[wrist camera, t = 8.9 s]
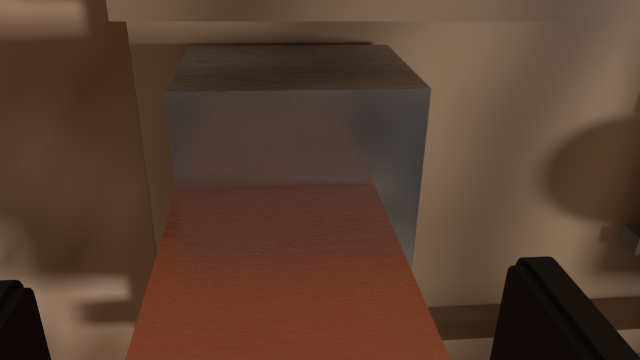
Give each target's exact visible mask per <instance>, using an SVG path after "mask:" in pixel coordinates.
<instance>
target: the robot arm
mask: <svg viewBox="0 0 640 360" xmlns="http://www.w3.org/2000/svg"><path fill="white" fill-rule="evenodd" d="M0 360H51V357H50V354H49V350H48V346H47V342H46V338H45V334H44V330H43V326H42V322H41V318H40V314H39V310H38V306H37V302H36V298H35V295H34V292H33V290H32V289H31V288H24V287H23V284H22V283H21V282H20V281H18V280H0ZM490 360H640V357H639V356H638V355H637V354H636V352H635V351H634V350H633V349H632V348H631V347H630V346H629V344H628V343H627V342H626V341H625V340H624V339H623V337H622V336H621V335H620V334H619V333H618V332H617V330H616V329H615V328H614V327H613V326H612V325H611V324H610V322H609V321H608V320H607V319H606V318H605V317H604V315H603V314H602V313H601V312H600V311H599V310H598V308H597V307H596V306H595V305H594V304H593V303H592V302H591V300H590V299H589V298H588V297H587V296H586V295H585V293H584V292H583V291H582V290H581V289H580V288H579V286H578V285H577V284H576V283H575V282H574V281H573V280H572V278H571V277H570V276H569V275H568V274H567V273H566V271H565V270H564V269H563V268H562V267H561V266H560V265H559V263H558V262H557V261H556V260H555V259H554V258H553V257H550V256H542V257H521V258H519V259H518V261H517V262H516V265H512V266H510V267H509V268H508V271H507V274H506V279H505V284H504V289H503V295H502V300H501V305H500V310H499V315H498V320H497V325H496V330H495V335H494V340H493V345H492V350H491V355H490Z"/></svg>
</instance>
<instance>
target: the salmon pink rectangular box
mask: <svg viewBox="0 0 640 360" xmlns="http://www.w3.org/2000/svg"><path fill="white" fill-rule="evenodd" d="M165 94H166V103H167V113H168V122H169V132H170V141H171V150H172V160H173V169H174V178H175V188H176V190H175V194H174V197H173V200H172V204H171V207H170V211H169V214H168V217H167V221H166V224H165V228H164V231H163V234H162V238H161V241H160V244H159V248H158V251H157V255H156V258H155V261H154V265H153V268H152V272H151V275H150V278H149V282H148V285H147V288H146V292H145V295H144V299H143V302H142V305H141V309H140V312H139V316H138V319H137V322H136V326H135V329H134V332H133V336H132V339H131V343H130V346H129V349H128V353H127V356H126V360H450V358H449V355H448V353H447V351H446V349H445V346H444V344H443V342H442V339H441V337H440V335H439V332H438V330H437V328H436V326H435V323H434V321H433V319H432V316H431V314H430V312H429V309H428V307H427V305H426V302H425V300H424V298H423V296H422V293H421V291H420V289H419V286H418V284H417V282H416V279H415V277H414V275H413V273H412V264H413V255H414V246H415V236H416V227H417V218H418V209H419V199H420V190H421V181H422V171H423V162H424V153H425V144H426V134H427V125H428V116H429V106H430V97H431V88H430V87H429V86H428V85H427V84H426V83H425V82H424V81H423V80H422V79H421V78H420V77H419V76H418V75H417V74H416V73H415V72H414V71H413V70H412V69H411V68H410V67H409V66H408V65H407V64H406V63H405V62H404V61H403V60H402V59H401V58H400V57H399V56H398V55H397V54H396V53H395V52H394V51H393V50H392V49H391V48H390V47H389V46H388V45H189V47H188V49H187V51H186V53H185V55H184V57H183V59H182V60H181V62H180V64H179V66H178V68H177V70H176V72H175V74H174V76H173V78H172V80H171V82H170V84H169V86H168V88H167V90H166V91H165Z"/></svg>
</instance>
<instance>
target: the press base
mask: <svg viewBox="0 0 640 360" xmlns="http://www.w3.org/2000/svg"><path fill="white" fill-rule="evenodd" d="M106 5H107V12H108V19H109V21H126V24H127V32H128V39H129V47H130V55H131V62H132V70H133V78H134V85H135V93H136V101H137V108H138V116H139V123H140V131H141V139H142V146H143V154H144V162H145V169H146V177H147V185H148V192H149V200H150V208H151V215H152V223H153V231H154V238H155V246H156V254H157V251H158V248H159V244H160V241H161V238H162V234H163V231H164V228H165V224H166V221H167V217H168V214H169V211H170V207H171V204H172V200H173V197H174V194H175V190H176V188H175V178H174V169H173V160H172V150H171V141H170V132H169V122H168V113H167V103H166V94H165V91H166V90H167V88H168V86H169V84H170V82H171V80H172V78H173V76H174V74H175V72H176V70H177V68H178V66H179V64H180V62H181V60H182V59H183V57H184V55H185V53H186V51H187V49H188V47H189V45H388V46H389V47H390V48H391V49H392V50H393V51H394V52H395V53H396V54H397V55H398V56H399V57H400V58H401V59H402V60H403V61H404V62H405V63H406V64H407V65H408V66H409V67H410V68H411V69H412V70H413V71H414V72H415V73H416V74H417V75H418V76H419V77H420V78H421V79H422V80H423V81H424V82H425V83H426V84H427V85H428V86H429V87H430V88H431V97H430V106H429V116H428V125H427V134H426V144H425V153H424V162H423V171H422V181H421V190H420V199H419V209H418V218H417V227H416V236H415V246H414V255H413V264H412V273H413V275H414V277H415V279H416V282H417V284H418V286H419V289H420V291H421V293H422V296H423V298H424V300H425V302H426V305H427V307H428V309H429V312H430V314H431V316H432V319H433V321H434V323H435V326H436V328H437V330H438V332H439V335H440V337H441V339H442V342H443V344H444V346H445V349H446V351H447V353H448V355H449V358H450V360H490V355H491V350H492V345H493V340H494V335H495V330H496V325H497V320H498V315H499V310H500V305H501V300H502V295H503V289H504V284H505V279H506V274H507V271H508V268H509V267H510V266H512V265H516V262H517V261H518V259H519V258H521V257H542V256H550V257H553V258H554V259H555V260H556V261H557V262H558V263H559V265H560V266H561V267H562V268H563V269H564V270H565V271H566V273H567V274H568V275H569V276H570V277H571V278H572V280H573V281H574V282H575V283H576V284H577V285H578V286H579V288H580V289H581V290H582V291H583V292H584V293H585V295H586V296H587V297H588V298H589V299H590V300H591V302H592V303H593V304H594V305H595V306H596V307H597V308H598V310H599V311H600V312H601V313H602V314H603V315H604V317H605V318H606V319H607V320H608V321H609V322H610V324H611V325H612V326H613V327H614V328H615V329H616V330H617V332H618V333H619V334H620V335H621V336H622V337H623V339H624V340H625V341H626V342H627V343H628V344H629V346H630V347H631V348H632V349H633V350H634V351H635V352H636V353H637V352H640V0H106Z"/></svg>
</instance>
